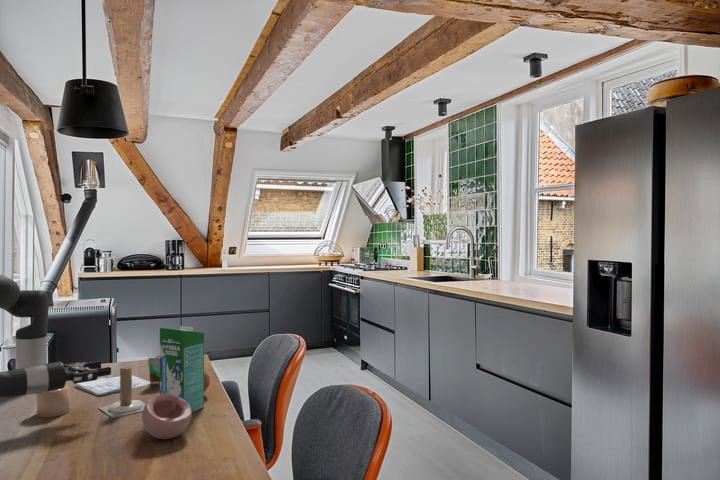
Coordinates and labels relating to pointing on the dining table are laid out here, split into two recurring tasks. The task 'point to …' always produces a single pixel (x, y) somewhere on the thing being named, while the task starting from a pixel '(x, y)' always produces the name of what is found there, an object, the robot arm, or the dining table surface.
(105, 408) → the mat
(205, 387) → the onion
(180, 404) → the pink rounded bowl
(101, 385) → the folded bicycle print towel
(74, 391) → the dining table surface
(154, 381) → the food container
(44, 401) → the canister
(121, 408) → the beige piece
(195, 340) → the milk carton
